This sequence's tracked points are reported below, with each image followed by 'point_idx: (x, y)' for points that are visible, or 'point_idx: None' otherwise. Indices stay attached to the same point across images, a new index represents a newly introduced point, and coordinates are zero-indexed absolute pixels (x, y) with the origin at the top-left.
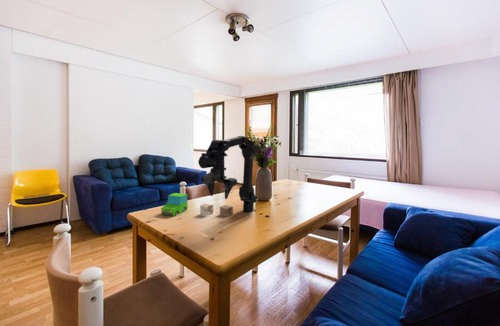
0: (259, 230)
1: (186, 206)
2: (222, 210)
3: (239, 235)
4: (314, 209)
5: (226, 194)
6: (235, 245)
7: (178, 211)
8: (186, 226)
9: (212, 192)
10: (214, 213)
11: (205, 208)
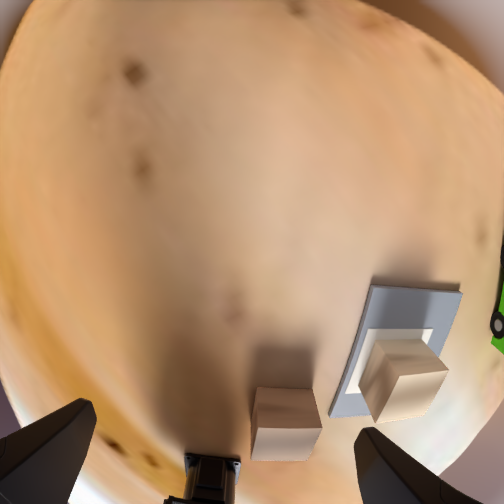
0: (27, 300)
1: (501, 343)
2: (297, 414)
3: (47, 197)
4: (72, 489)
5: (27, 429)
6: (26, 102)
7: None
8: (394, 141)
9: (368, 479)
10: (351, 388)
11: (405, 365)
